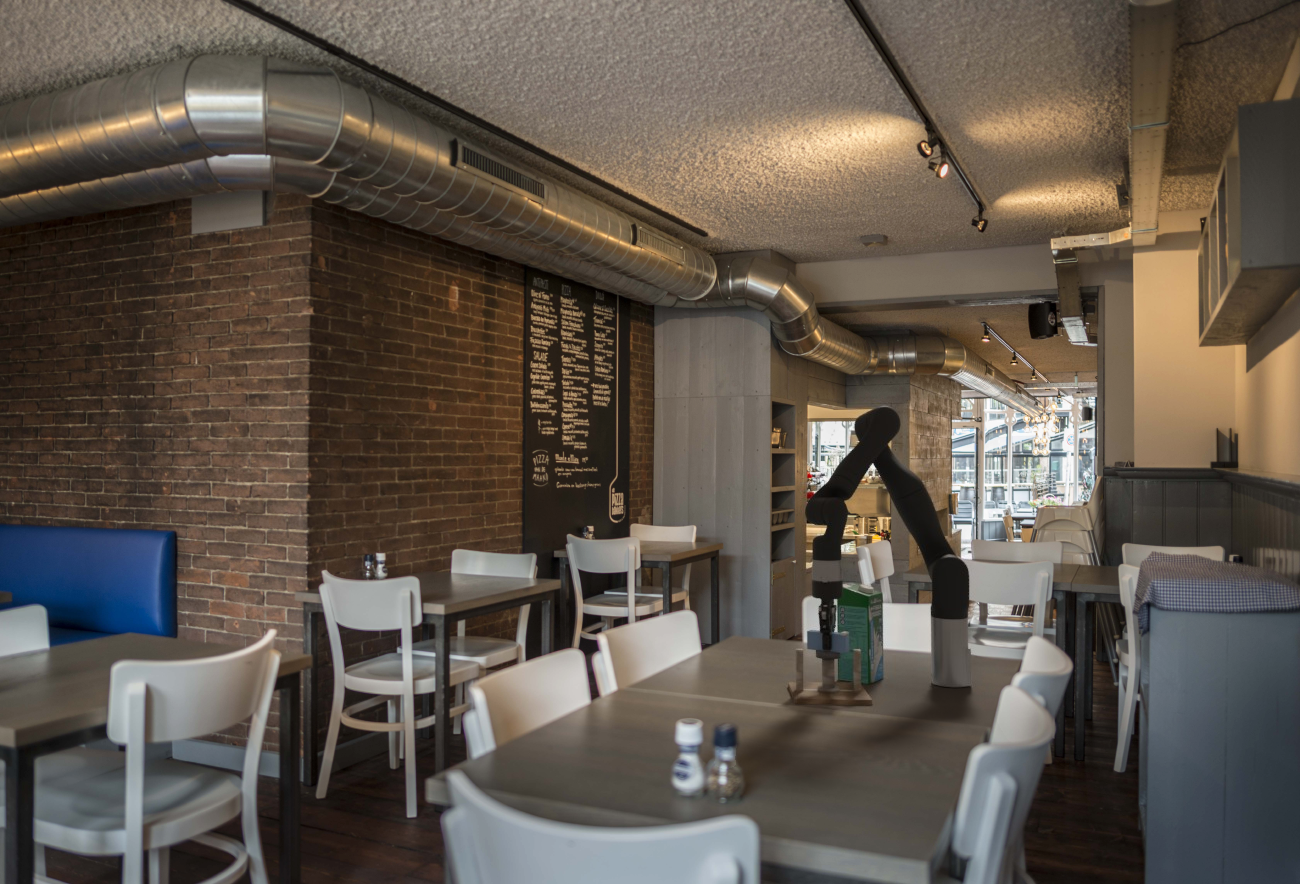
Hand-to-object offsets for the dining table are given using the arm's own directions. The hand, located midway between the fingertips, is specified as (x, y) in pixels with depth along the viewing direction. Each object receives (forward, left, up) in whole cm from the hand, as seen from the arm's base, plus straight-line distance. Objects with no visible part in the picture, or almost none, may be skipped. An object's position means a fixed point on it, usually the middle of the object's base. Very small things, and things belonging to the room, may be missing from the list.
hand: (828, 648), depth 229 cm
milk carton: (-11, -19, -12) cm, 25 cm away
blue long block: (0, 0, -2) cm, 2 cm away
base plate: (0, 0, -11) cm, 11 cm away
